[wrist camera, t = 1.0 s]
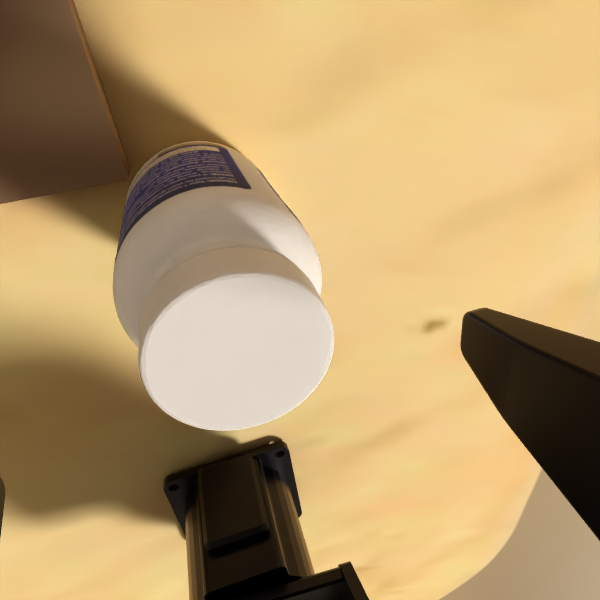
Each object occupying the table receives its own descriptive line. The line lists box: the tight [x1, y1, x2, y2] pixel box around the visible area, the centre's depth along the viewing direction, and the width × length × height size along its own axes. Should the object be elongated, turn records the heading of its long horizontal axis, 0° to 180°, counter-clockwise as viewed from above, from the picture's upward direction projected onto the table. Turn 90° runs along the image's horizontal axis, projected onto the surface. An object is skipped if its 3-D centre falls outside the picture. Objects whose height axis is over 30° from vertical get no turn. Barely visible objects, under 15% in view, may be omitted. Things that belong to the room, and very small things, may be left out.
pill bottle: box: [113, 141, 334, 431], centre depth 12 cm, size 5×5×9 cm
